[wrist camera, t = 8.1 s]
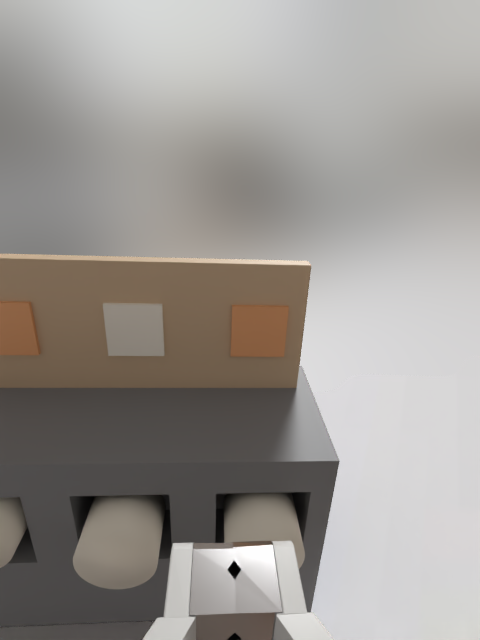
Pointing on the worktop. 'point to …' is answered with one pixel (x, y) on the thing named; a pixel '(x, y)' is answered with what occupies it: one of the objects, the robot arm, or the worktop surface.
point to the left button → (10, 527)
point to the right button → (262, 519)
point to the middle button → (120, 541)
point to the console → (150, 413)
